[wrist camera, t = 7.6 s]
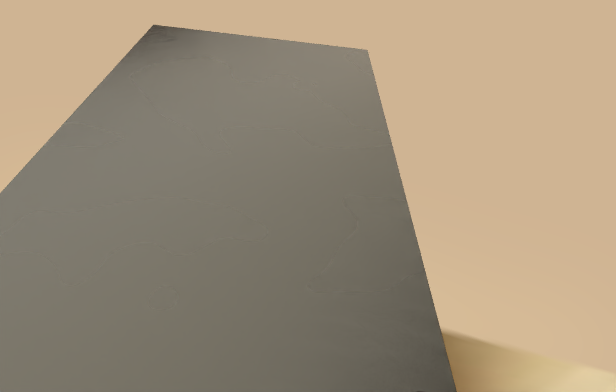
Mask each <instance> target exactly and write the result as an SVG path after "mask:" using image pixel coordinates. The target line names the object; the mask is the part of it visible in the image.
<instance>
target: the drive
mask: <svg viewBox="0 0 616 392" xmlns="http://www.w3.org/2000/svg"><path fill="white" fill-rule="evenodd" d="M0 392H457V391H456V387H455V383H454V380H453V376H452V372H451V368H450V364H449V360H448V357H447V353H446V349H445V345H444V341H443V337H442V334H441V330H440V326H439V322H438V318H437V315H436V311H435V307H434V303H433V299H432V295H431V292H430V288H429V284H428V280H427V277H426V272H425V269H424V265H423V261H422V257H421V253H420V249H419V246H418V242H417V238H416V235H415V230H414V227H413V223H412V219H411V215H410V212H409V207H408V204H407V200H406V196H405V193H404V188H403V185H402V181H401V177H400V173H399V169H398V166H397V162H396V158H395V154H394V150H393V146H392V142H391V139H390V135H389V131H388V128H387V123H386V119H385V116H384V112H383V108H382V104H381V100H380V96H379V93H378V89H377V85H376V81H375V77H374V74H373V70H372V66H371V62H370V58H369V54H368V51H367V50H362V49H355V48H345V47H338V46H329V45H321V44H312V43H304V42H295V41H287V40H278V39H269V38H261V37H252V36H244V35H236V34H227V33H219V32H210V31H202V30H193V29H185V28H176V27H168V26H159V25H153V26H152V27H151V28H150V29H149V30H148V31H147V33H146V34H145V35H144V36H143V37H142V38H141V39H140V40H139V41H138V43H137V44H136V45H135V46H134V47H133V48H132V49H131V50H130V51H129V52H128V54H127V55H126V56H125V57H124V58H123V59H122V60H121V61H120V62H119V63H118V65H117V66H116V67H115V68H114V69H113V70H112V71H111V72H110V73H109V74H108V75H107V77H106V78H105V79H104V80H103V81H102V82H101V83H100V84H99V85H98V86H97V88H96V89H95V90H94V91H93V92H92V93H91V94H90V95H89V96H88V97H87V99H86V100H85V101H84V102H83V103H82V104H81V105H80V106H79V107H78V108H77V110H76V111H75V112H74V113H73V114H72V115H71V116H70V117H69V118H68V119H67V121H66V122H65V123H64V124H63V125H62V126H61V127H60V128H59V129H58V130H57V132H56V133H55V134H54V135H53V136H52V137H51V138H50V139H49V140H48V142H47V143H46V144H45V145H44V146H43V147H42V148H41V149H40V150H39V151H38V152H37V153H36V155H35V156H34V157H33V158H32V159H31V160H30V161H29V162H28V163H27V164H26V166H25V167H24V168H23V169H22V170H21V171H20V172H19V173H18V175H16V177H15V178H14V179H13V180H12V181H11V182H10V183H9V184H8V185H7V187H6V188H5V189H4V190H3V191H2V192H1V193H0Z"/></svg>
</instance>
